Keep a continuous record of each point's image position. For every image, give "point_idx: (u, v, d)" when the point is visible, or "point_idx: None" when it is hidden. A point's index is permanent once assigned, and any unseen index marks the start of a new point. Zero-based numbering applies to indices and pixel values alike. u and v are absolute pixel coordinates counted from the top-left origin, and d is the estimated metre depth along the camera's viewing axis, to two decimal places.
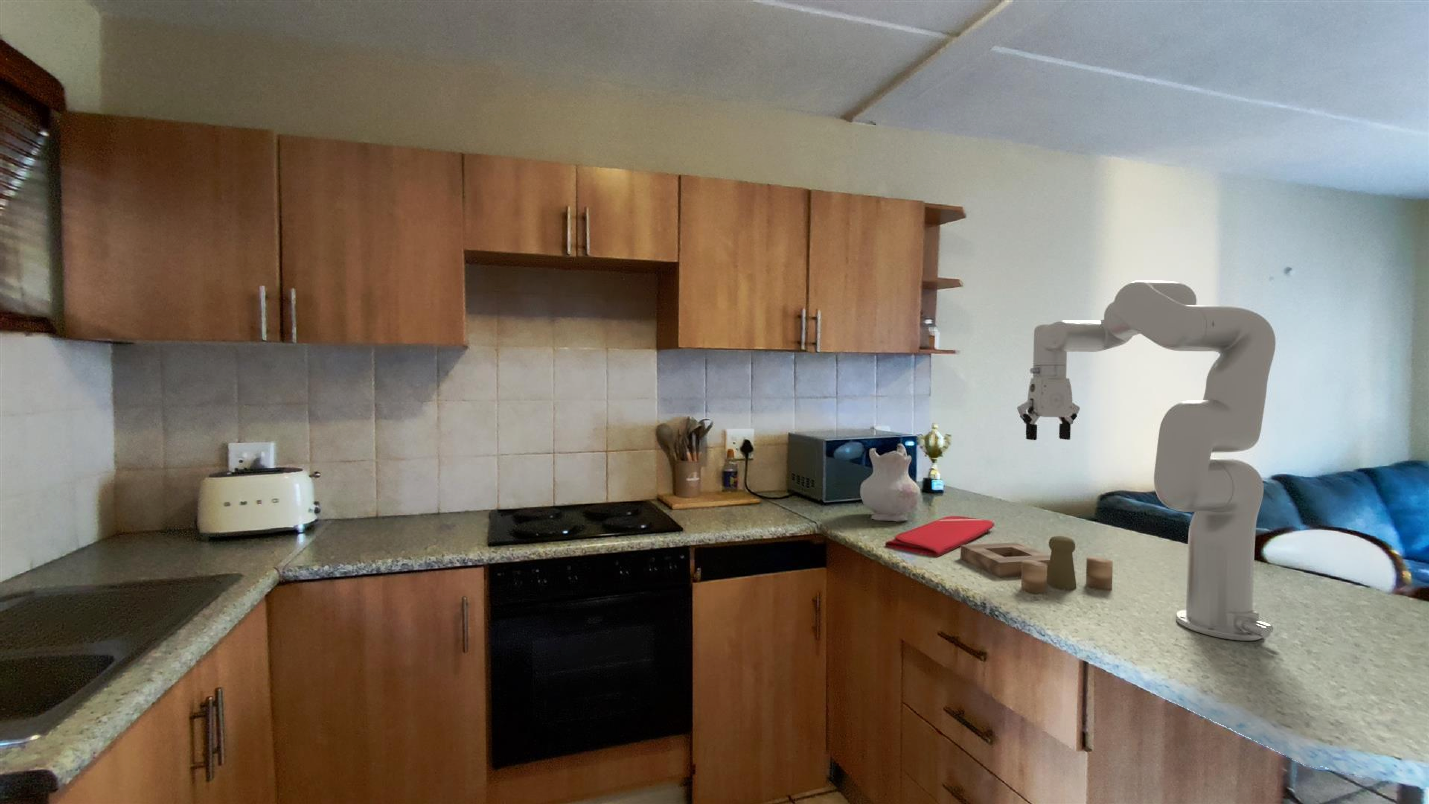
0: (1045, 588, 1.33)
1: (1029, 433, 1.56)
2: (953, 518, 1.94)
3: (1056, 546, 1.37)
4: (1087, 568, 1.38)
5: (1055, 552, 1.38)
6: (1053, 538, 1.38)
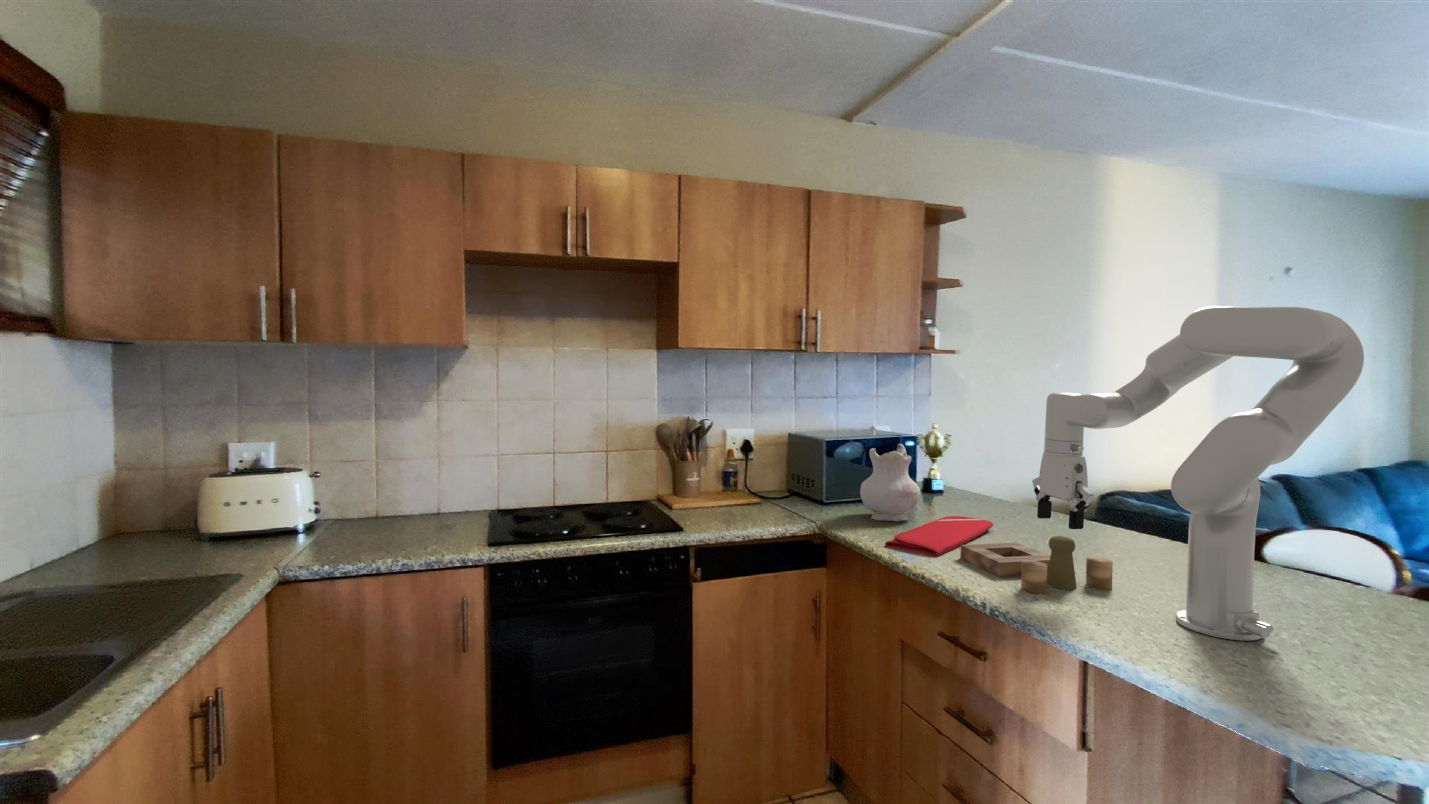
0: (1045, 588, 1.33)
1: (1081, 522, 1.33)
2: (952, 518, 1.95)
3: (1056, 546, 1.37)
4: (1087, 568, 1.38)
5: (1055, 552, 1.38)
6: (1053, 538, 1.38)
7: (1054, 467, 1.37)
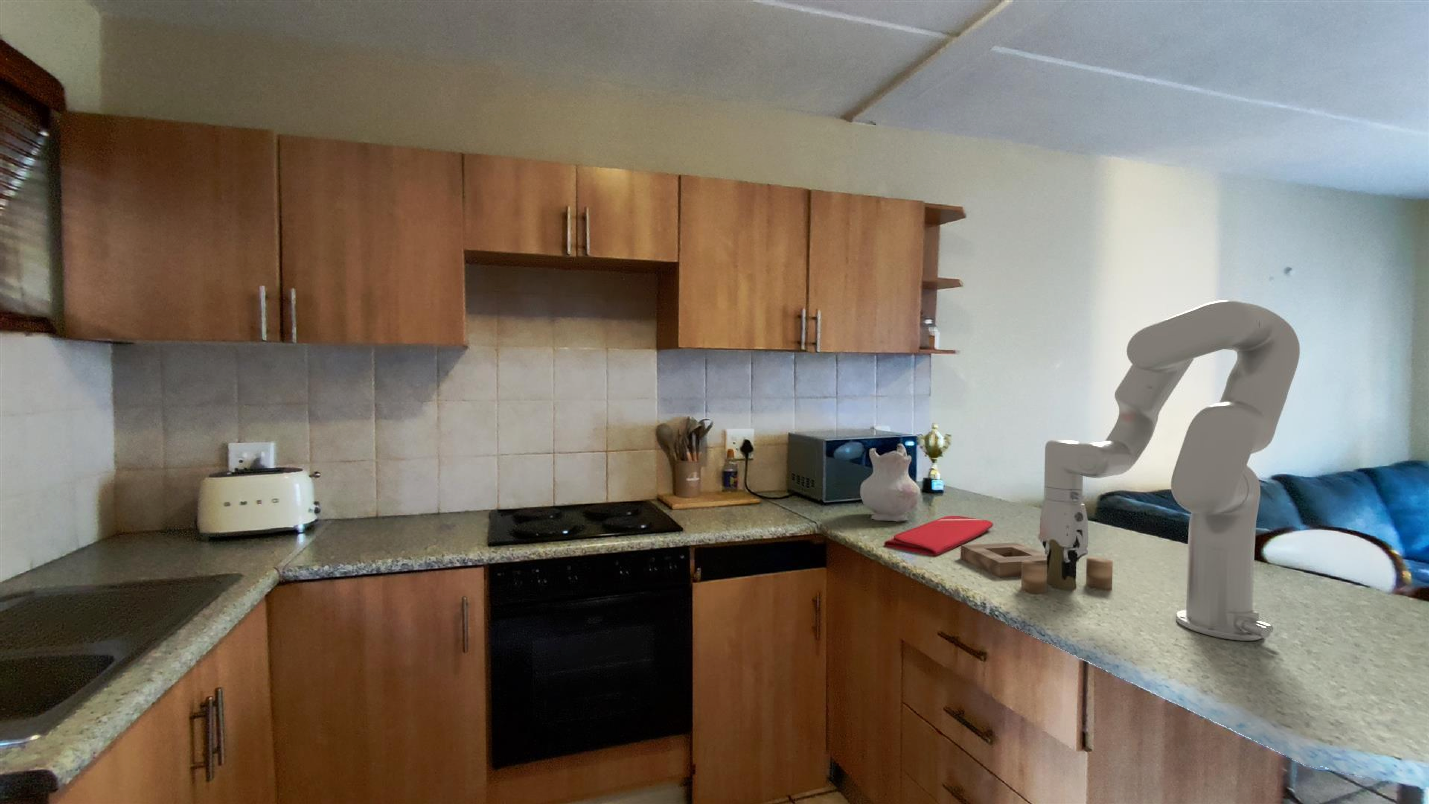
0: (1045, 588, 1.33)
1: (1073, 573, 1.36)
2: (952, 518, 1.95)
3: (1056, 546, 1.37)
4: (1087, 568, 1.38)
5: (1055, 552, 1.38)
6: None
7: (1054, 515, 1.37)
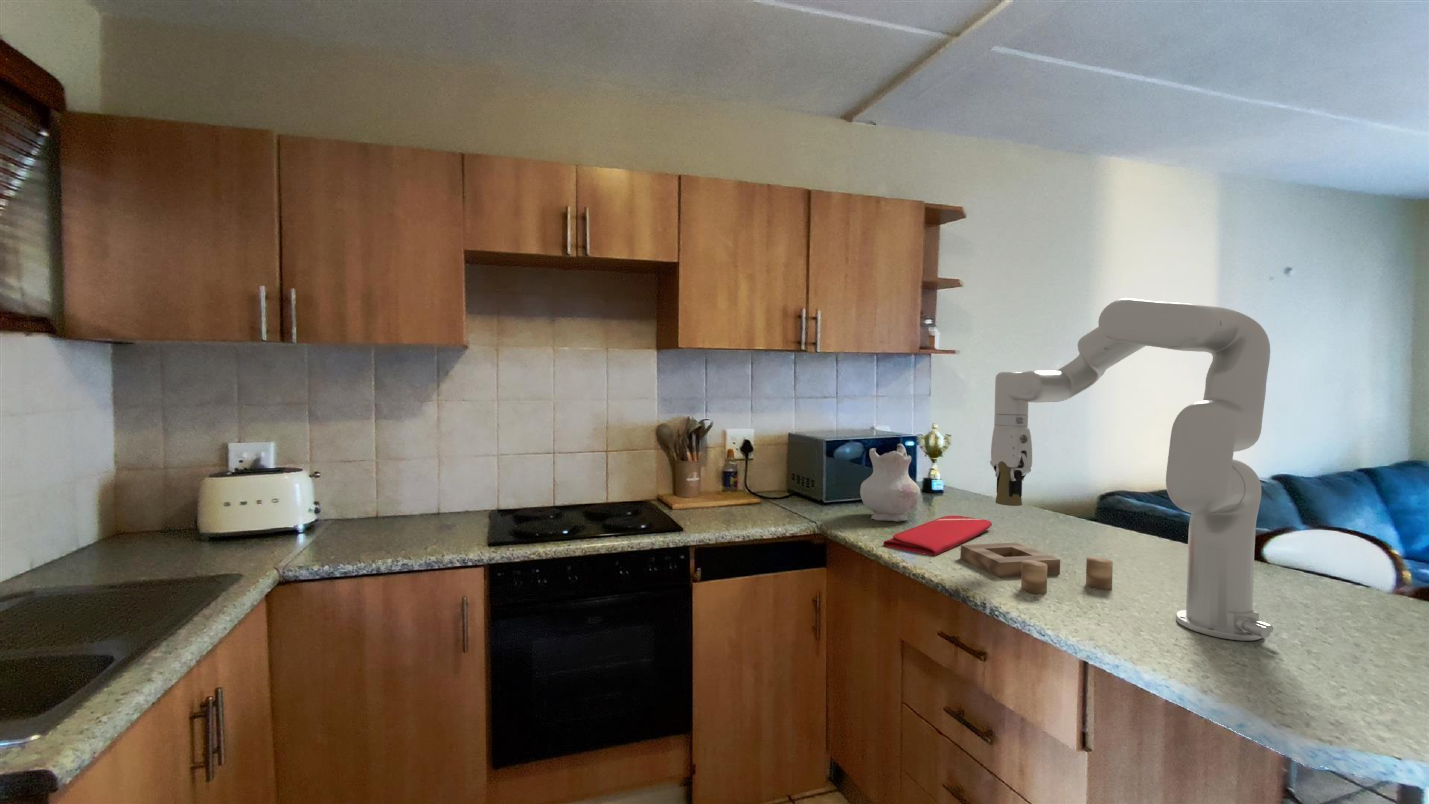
0: (1045, 588, 1.33)
1: (1019, 490, 1.50)
2: (951, 517, 1.95)
3: (1004, 467, 1.51)
4: (1087, 568, 1.38)
5: (1003, 472, 1.52)
6: None
7: (1003, 439, 1.52)
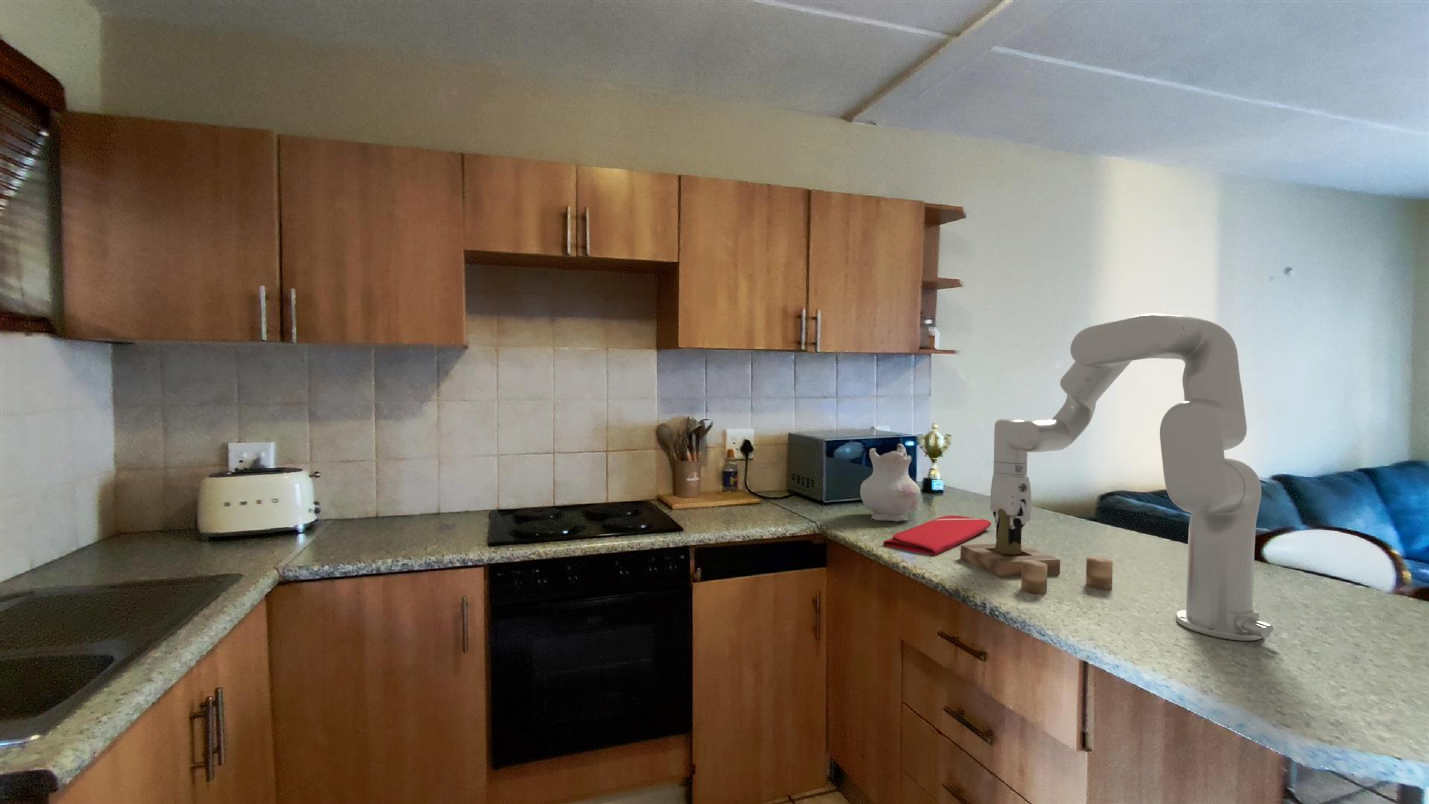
0: (1045, 588, 1.33)
1: (1018, 538, 1.50)
2: (950, 517, 1.95)
3: (1003, 515, 1.52)
4: (1087, 568, 1.38)
5: (1002, 520, 1.52)
6: None
7: (1002, 486, 1.52)
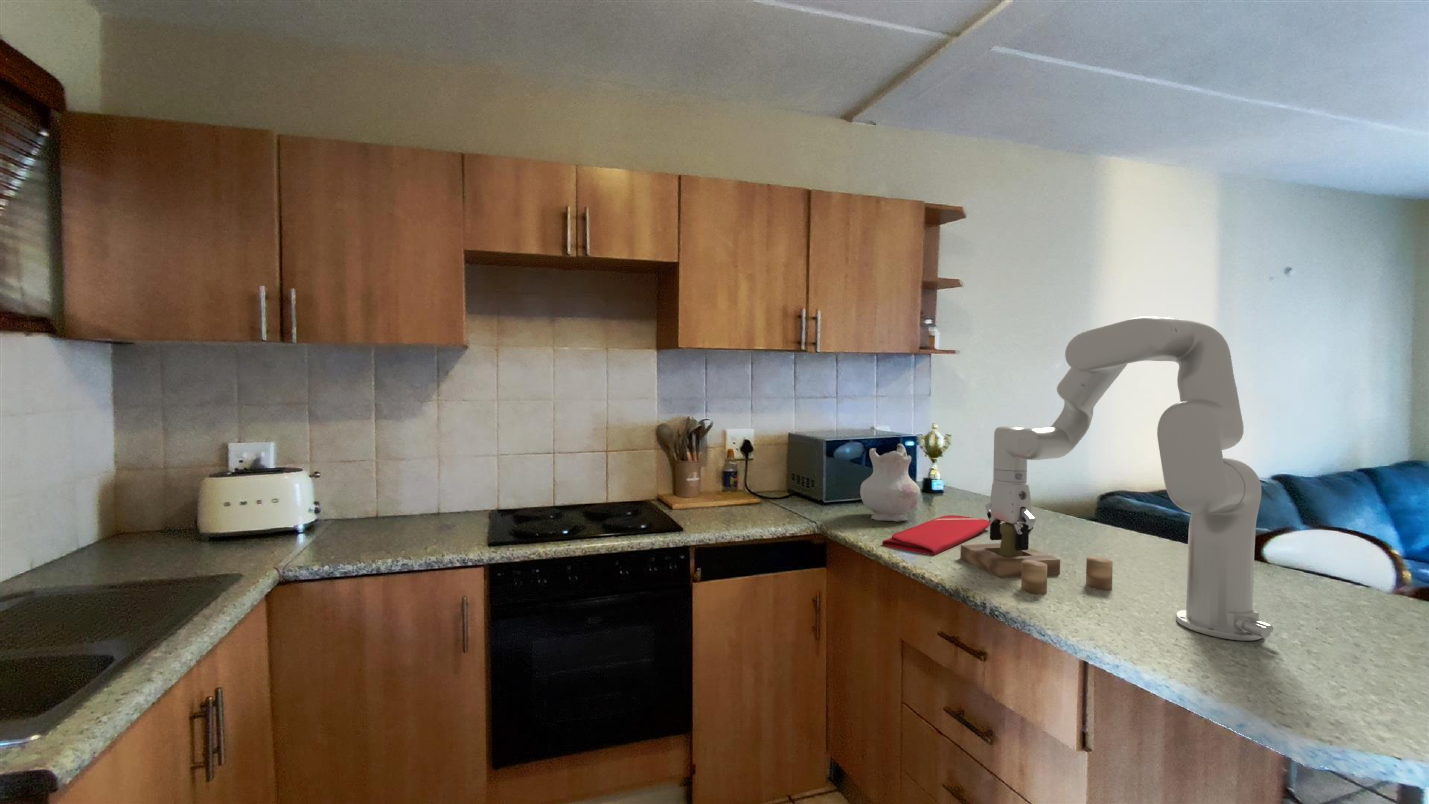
0: (1045, 588, 1.33)
1: (1026, 544, 1.48)
2: (950, 517, 1.96)
3: (1005, 531, 1.51)
4: (1087, 568, 1.38)
5: (1004, 536, 1.52)
6: (1003, 524, 1.52)
7: (1002, 494, 1.52)
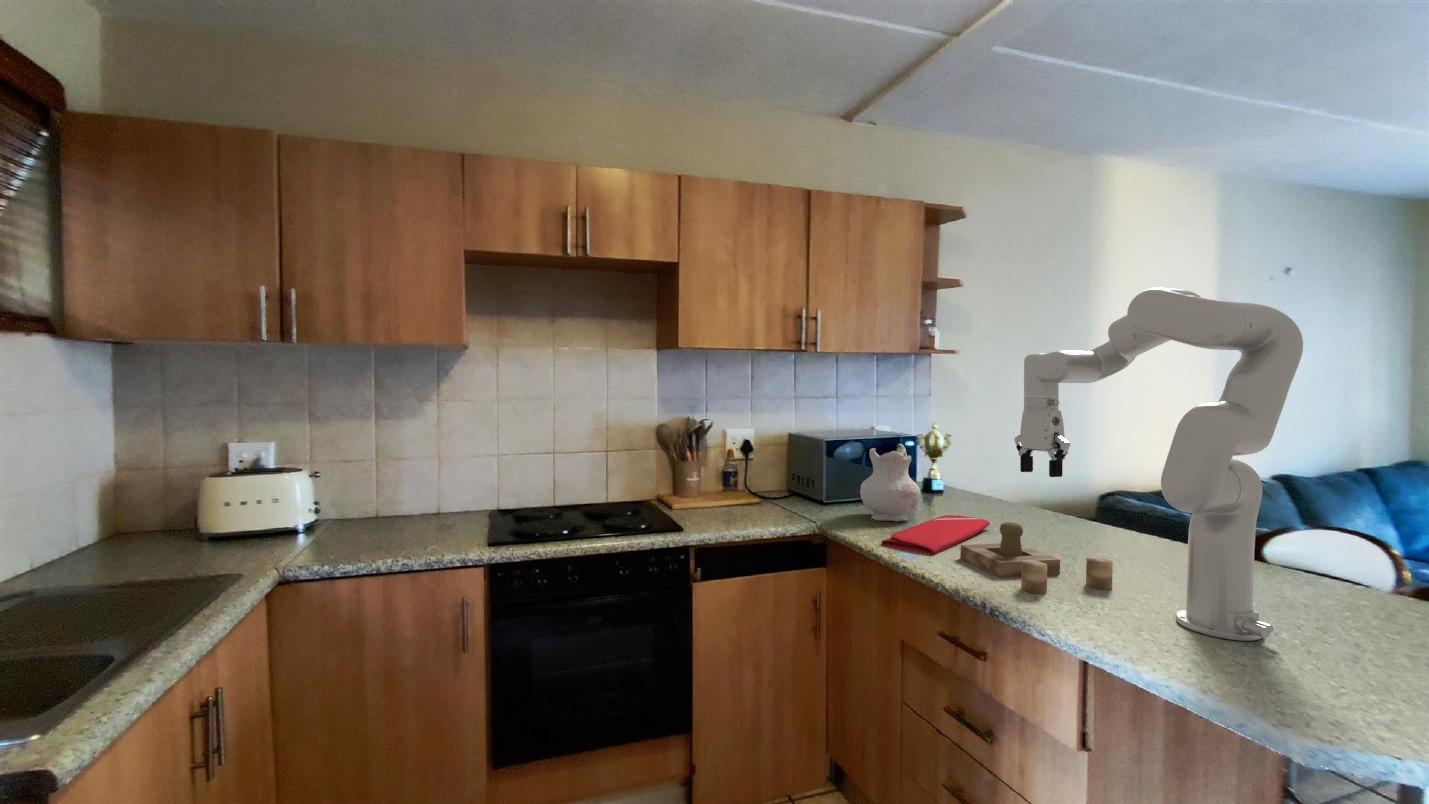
0: (1045, 588, 1.33)
1: (1060, 470, 1.45)
2: (949, 517, 1.96)
3: (1005, 531, 1.51)
4: (1087, 568, 1.38)
5: (1004, 536, 1.52)
6: (1003, 524, 1.52)
7: (1033, 422, 1.49)
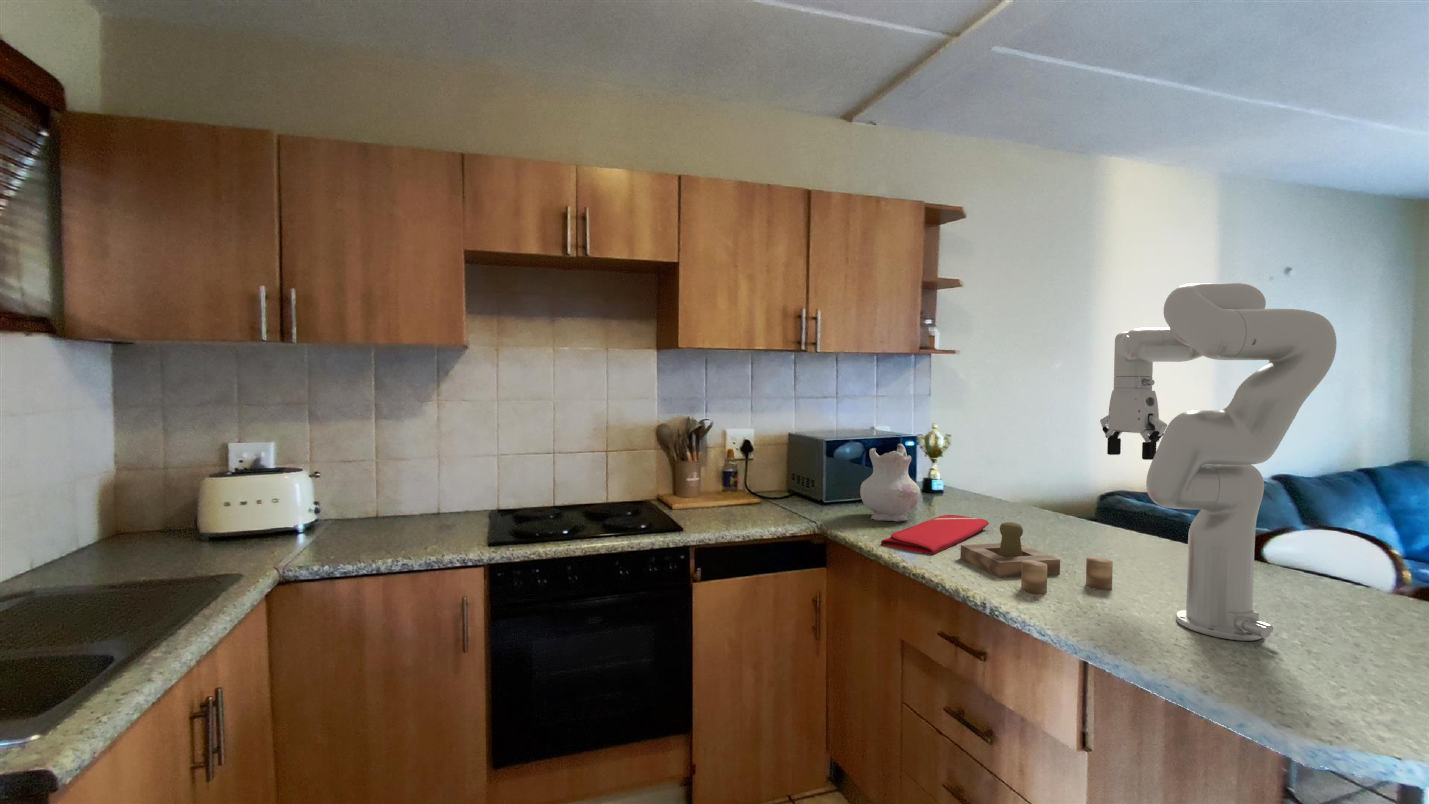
0: (1045, 588, 1.33)
1: (1154, 452, 1.40)
2: (948, 517, 1.96)
3: (1005, 531, 1.51)
4: (1087, 568, 1.38)
5: (1004, 536, 1.52)
6: (1003, 524, 1.52)
7: (1125, 402, 1.44)
